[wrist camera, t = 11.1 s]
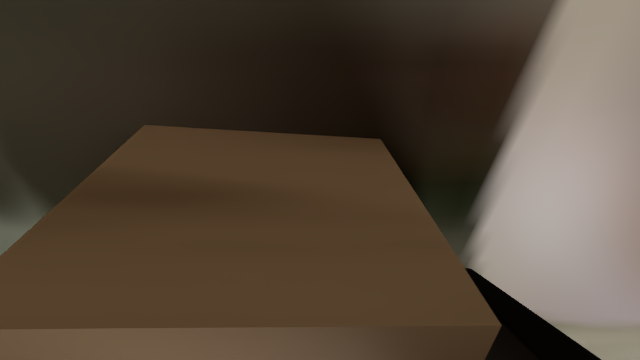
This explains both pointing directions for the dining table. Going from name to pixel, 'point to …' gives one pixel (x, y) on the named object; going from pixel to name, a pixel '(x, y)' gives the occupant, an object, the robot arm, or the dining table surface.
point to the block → (240, 258)
